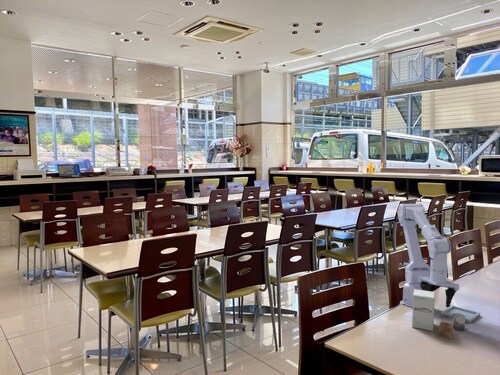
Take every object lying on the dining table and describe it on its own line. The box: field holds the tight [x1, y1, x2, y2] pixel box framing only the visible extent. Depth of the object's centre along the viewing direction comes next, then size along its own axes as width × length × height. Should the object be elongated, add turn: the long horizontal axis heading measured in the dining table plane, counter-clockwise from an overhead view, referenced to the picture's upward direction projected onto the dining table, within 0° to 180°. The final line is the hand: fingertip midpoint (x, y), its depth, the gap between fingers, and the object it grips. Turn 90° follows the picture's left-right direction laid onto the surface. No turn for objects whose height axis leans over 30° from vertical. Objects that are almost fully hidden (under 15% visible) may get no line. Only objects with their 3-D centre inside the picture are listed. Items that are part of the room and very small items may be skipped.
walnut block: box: [438, 321, 454, 340], centre depth 134 cm, size 4×4×4 cm
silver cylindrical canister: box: [452, 313, 466, 332], centre depth 139 cm, size 4×4×5 cm
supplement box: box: [411, 289, 436, 332], centre depth 142 cm, size 7×7×13 cm
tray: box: [440, 304, 481, 324], centre depth 151 cm, size 11×11×1 cm
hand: (437, 303), depth 147 cm, fingers open, 7 cm apart
